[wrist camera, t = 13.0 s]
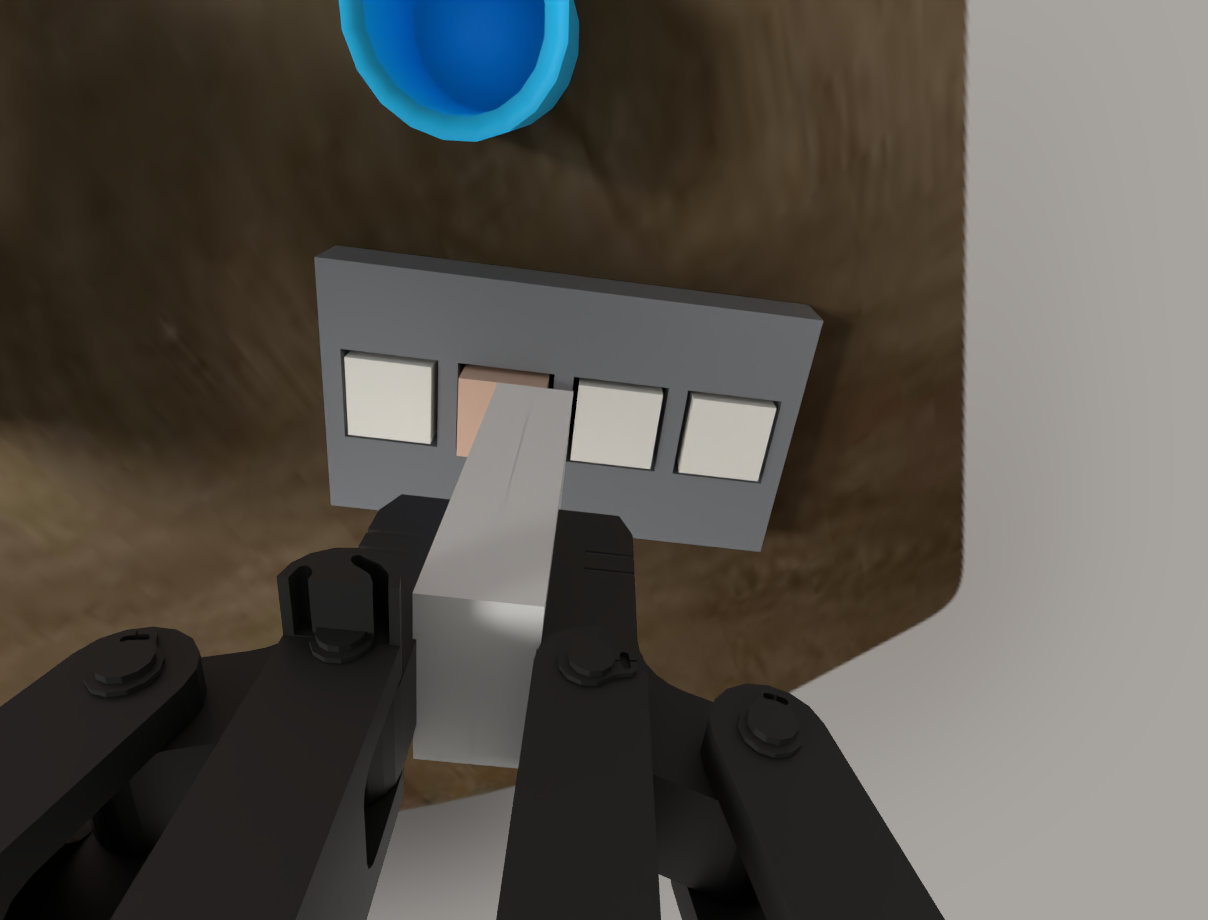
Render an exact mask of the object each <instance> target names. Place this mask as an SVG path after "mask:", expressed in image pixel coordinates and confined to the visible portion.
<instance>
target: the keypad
mask: <svg viewBox="0 0 1208 920" xmlns="http://www.w3.org/2000/svg"><path fill="white" fill-rule="evenodd" d="M314 261H315V276H316V291H317V306H318V320H319V335H320V350H321V365H322V380H323V395H324V409H325V424H326V439H327V454H328V469H329V484H330V498H331V505H335V506H345V507H354V508H363V509H372V510H379V509H381V508H382V507H384V506H385V505H387V504H388V503H390V502H391V501H393V500H394V499H395V498H397V497H398V496H400V495H401V494H405V495H414V496H424V497H433V498H442V499H451V497H452V494H453V492H454V489H455V487H456V484H457V482H458V479H459V477H460V474H461V472H462V469H463V467H464V464H465V462H466V459H467V457H463V456H456V454H457V419H458V384H459V376H460V375H461V373H462V371H463V369H464V367H465V366H466V364H472V365H480V366H488V367H497V368H505V369H513V370H522V371H530V372H539V373H547V374H555V377H554V387H553V389H557V390H565V391H573V386H574V377H580V378H589V379H597V380H606V381H614V382H622V383H631V384H639V385H647V386H656V387H662V392H663V398H662V404H661V410H660V416H659V421H658V427H657V433H656V439H655V444H654V450H653V456H652V462H651V467H650V469H644V468H636V467H627V466H618V465H609V464H600V463H592V462H583V461H574V460H570V459H571V450H572V441H573V439H572V438H568V445H567V454H566V464H565V473H564V482H563V491H562V500H561V510H570V511H579V512H588V513H597V514H606V515H615V516H620V518H621V519H622V521H623V522H624V523H625V525H626V526H627V528H628V529H629V531H630V532H631V533H632V535H633V538H638V539H647V540H656V541H665V542H674V543H684V544H693V545H702V546H711V547H720V548H729V549H738V550H748V551H757V552H760V551H761V547H762V544H763V540H764V536H765V533H766V529H767V525H768V522H769V518H770V514H771V511H772V507H773V503H774V500H775V496H776V492H777V489H778V485H779V482H780V478H781V474H782V471H783V467H784V463H785V460H786V456H787V452H788V449H789V445H790V441H791V438H792V434H793V430H794V427H795V423H796V419H797V416H798V412H799V408H800V405H801V401H802V397H803V394H804V390H805V387H806V383H807V379H808V376H809V372H810V368H811V365H812V361H813V357H814V354H815V350H816V346H817V343H818V339H819V335H820V332H821V328H822V324H823V320H822V319H821V318H820V316H819V315H818V314H817V313H816V312H815V311H814V310H813V309H812V308H811V307H810V306H809V305H806V304H798V303H790V302H782V301H774V300H767V299H759V298H751V297H743V296H735V295H727V294H719V293H711V292H703V291H695V290H687V289H679V288H672V287H664V286H656V285H648V284H640V283H632V282H624V281H616V280H608V279H600V278H592V277H584V276H576V275H569V274H561V273H553V272H545V271H537V270H529V269H521V268H513V267H505V266H497V265H489V264H481V263H473V262H466V261H458V260H450V259H442V258H434V257H426V256H418V255H410V254H402V253H394V252H386V251H378V250H370V249H363V248H355V247H347V246H339V245H336V246H334V247H332V248H330V249H328V250H326V251H324V252H322V253H321V254H319V255H317V256H315V257H314ZM351 350H354V351H363V352H371V353H380V354H388V355H396V356H405V357H413V358H421V359H430V360H438V425H437V432H436V434H435V436H434V438H433V440H432V442H431V444H426V443H417V442H408V441H400V440H391V439H382V438H373V437H364V436H356V435H348V421H347V401H346V382H345V362H344V357H345V356H346V355H347V354H348V353H349V352H350V351H351ZM688 390H689V391H698V392H706V393H714V394H723V395H731V396H739V397H748V398H756V399H765V400H772V401H773V403H774V405H775V407H776V412H775V416H774V420H773V424H772V428H771V432H770V436H769V439H768V443H767V447H766V451H765V455H764V459H763V463H762V467H761V471H760V474H759V478H758V481H750V480H741V479H732V478H724V477H715V476H706V475H697V474H689V473H680V472H679V470H678V464H677V458H676V452H677V446H678V441H679V436H680V431H681V426H682V420H683V415H684V410H685V405H686V399H687V394H688Z"/></svg>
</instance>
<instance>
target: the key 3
mask: <svg viewBox="0 0 1208 920" xmlns="http://www.w3.org/2000/svg"><path fill="white" fill-rule="evenodd" d="M662 398H663V392H662V387H656V386H647V385H639V384H631V383H622V382H614V381H606V380H597V379H589V378H580V379H579V388H578V397H577V406H576V414H575V423H574V432H573V441H572V450H571V459H570V460H574V461H583V462H592V463H600V464H609V465H618V466H627V467H636V468H644V469H650V467H651V462H652V456H653V450H654V444H655V439H656V433H657V427H658V421H659V416H660V410H661V404H662Z"/></svg>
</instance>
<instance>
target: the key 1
mask: <svg viewBox="0 0 1208 920" xmlns="http://www.w3.org/2000/svg"><path fill="white" fill-rule="evenodd" d="M344 362H345V382H346V401H347V421H348V435H356V436H364V437H373V438H382V439H391V440H400V441H408V442H417V443H426V444H431V442H432V440H433V438H434V436H435V434H436V432H437V425H438V360H430V359H421V358H413V357H405V356H396V355H388V354H380V353H371V352H363V351H354V350H351V351H350V352H349V353H348V354H347V355H346V356H345V357H344Z"/></svg>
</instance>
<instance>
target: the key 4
mask: <svg viewBox="0 0 1208 920" xmlns="http://www.w3.org/2000/svg"><path fill="white" fill-rule="evenodd" d="M775 412H776V407H775V405H774V403H773V401H772V400H765V399H756V398H748V397H739V396H731V395H723V394H714V393H706V392H698V391H689V390H688V394H687V399H686V405H685V410H684V415H683V420H682V426H681V431H680V436H679V441H678V446H677V452H676V458H677V464H678V470H679V472H680V473H689V474H697V475H706V476H715V477H724V478H732V479H741V480H750V481H758V478H759V474H760V471H761V467H762V463H763V459H764V455H765V451H766V447H767V443H768V439H769V436H770V432H771V428H772V424H773V420H774V416H775Z"/></svg>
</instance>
